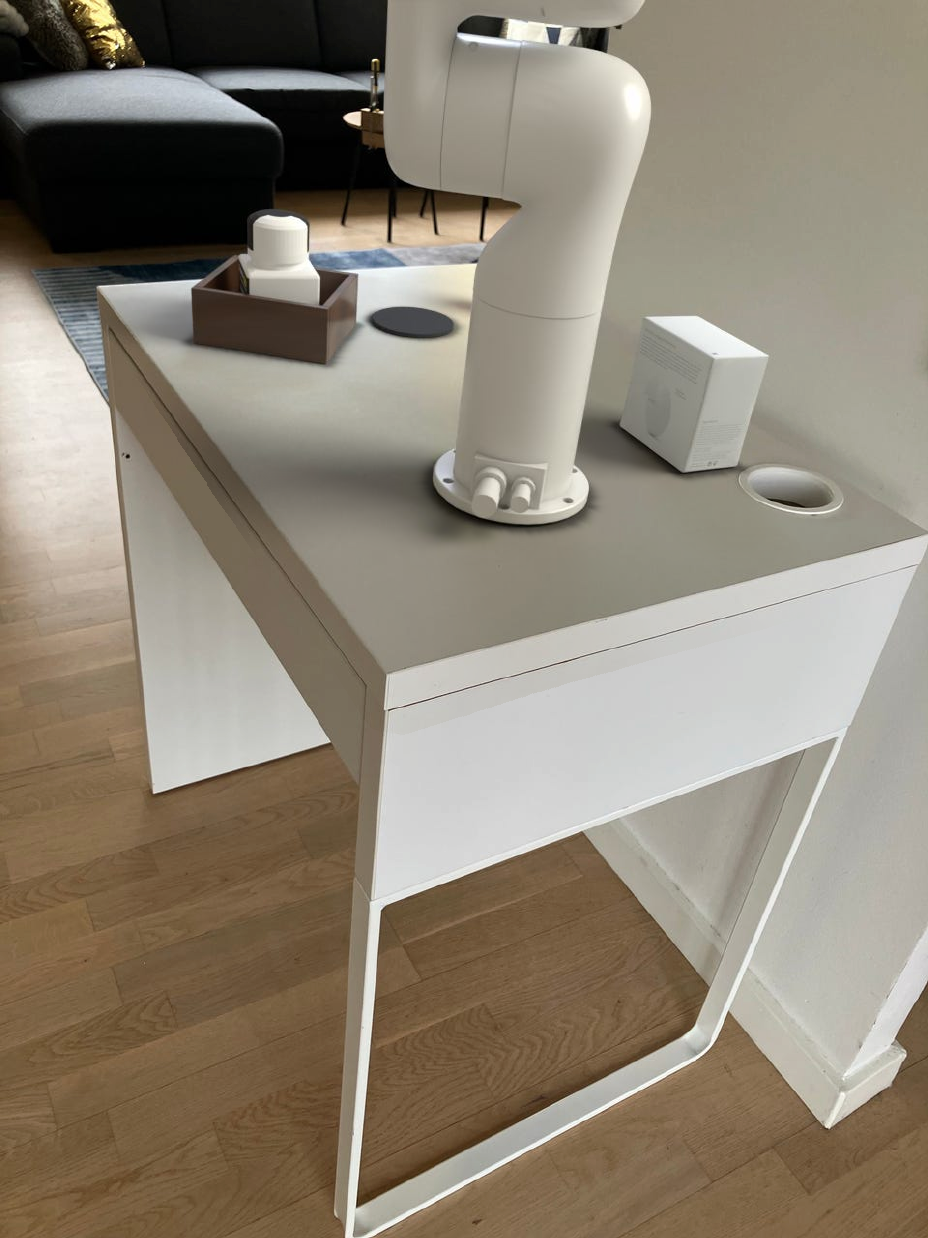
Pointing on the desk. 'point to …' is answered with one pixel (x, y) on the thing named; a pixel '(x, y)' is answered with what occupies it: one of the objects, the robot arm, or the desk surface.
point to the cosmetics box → (692, 392)
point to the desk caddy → (274, 316)
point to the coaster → (413, 322)
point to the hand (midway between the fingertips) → (569, 21)
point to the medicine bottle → (278, 258)
